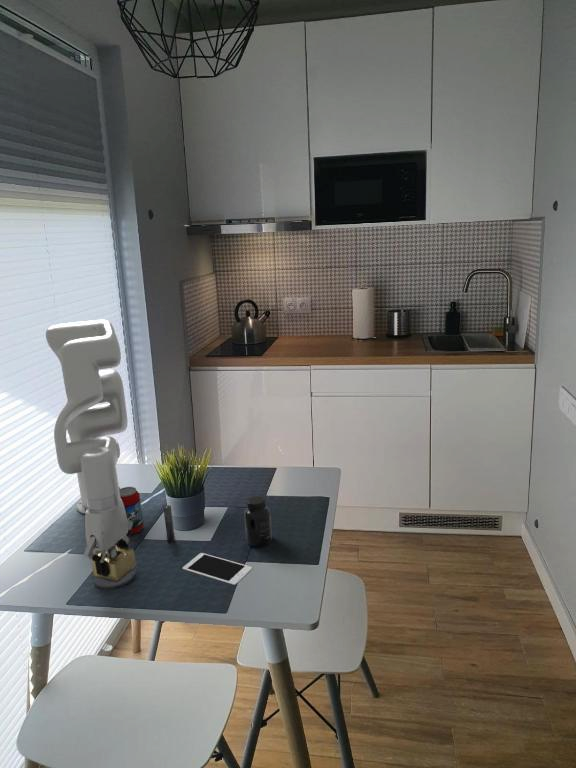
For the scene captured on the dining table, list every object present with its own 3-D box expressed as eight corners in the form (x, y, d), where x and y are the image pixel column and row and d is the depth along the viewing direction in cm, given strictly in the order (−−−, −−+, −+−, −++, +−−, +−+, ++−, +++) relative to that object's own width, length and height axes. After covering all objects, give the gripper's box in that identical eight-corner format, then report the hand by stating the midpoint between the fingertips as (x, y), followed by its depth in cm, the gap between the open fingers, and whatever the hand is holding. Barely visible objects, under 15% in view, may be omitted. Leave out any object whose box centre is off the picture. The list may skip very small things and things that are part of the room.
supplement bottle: (241, 542, 157) (237, 500, 154) (259, 531, 162) (256, 491, 158) (259, 550, 152) (255, 508, 149) (277, 539, 157) (274, 498, 154)
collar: (94, 576, 142) (91, 559, 141) (113, 560, 148) (110, 544, 147) (117, 581, 139) (114, 564, 138) (136, 565, 145) (133, 549, 144)
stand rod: (166, 540, 160) (162, 506, 157) (172, 537, 161) (168, 504, 158) (169, 543, 158) (165, 509, 156) (176, 540, 159) (172, 507, 157)
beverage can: (137, 536, 163) (132, 496, 160) (115, 535, 164) (109, 496, 161) (148, 524, 169) (142, 486, 166) (126, 523, 171) (120, 485, 167)
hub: (88, 576, 145) (83, 547, 143) (127, 561, 151) (123, 533, 149) (102, 595, 138) (97, 564, 135) (143, 578, 143) (138, 549, 141)
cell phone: (235, 586, 138) (234, 584, 138) (181, 570, 146) (181, 568, 146) (253, 569, 145) (253, 567, 145) (201, 554, 153) (201, 552, 153)
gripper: (115, 482, 148) (124, 545, 153) (64, 514, 133) (76, 583, 138) (139, 486, 145) (148, 550, 150) (90, 519, 130) (101, 589, 134)
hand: (113, 565), depth 144 cm, fingers closed on collar, 7 cm apart
